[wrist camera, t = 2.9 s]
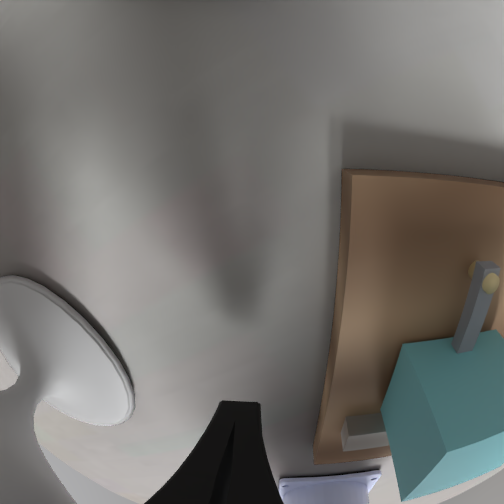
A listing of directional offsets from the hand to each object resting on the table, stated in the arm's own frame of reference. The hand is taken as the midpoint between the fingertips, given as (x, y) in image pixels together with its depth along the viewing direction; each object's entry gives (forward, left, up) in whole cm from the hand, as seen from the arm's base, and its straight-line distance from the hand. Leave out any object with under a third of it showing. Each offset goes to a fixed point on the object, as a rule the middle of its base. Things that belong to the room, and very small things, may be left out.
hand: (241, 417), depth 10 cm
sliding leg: (+2, -8, -2) cm, 9 cm away
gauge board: (0, -15, -3) cm, 16 cm away
